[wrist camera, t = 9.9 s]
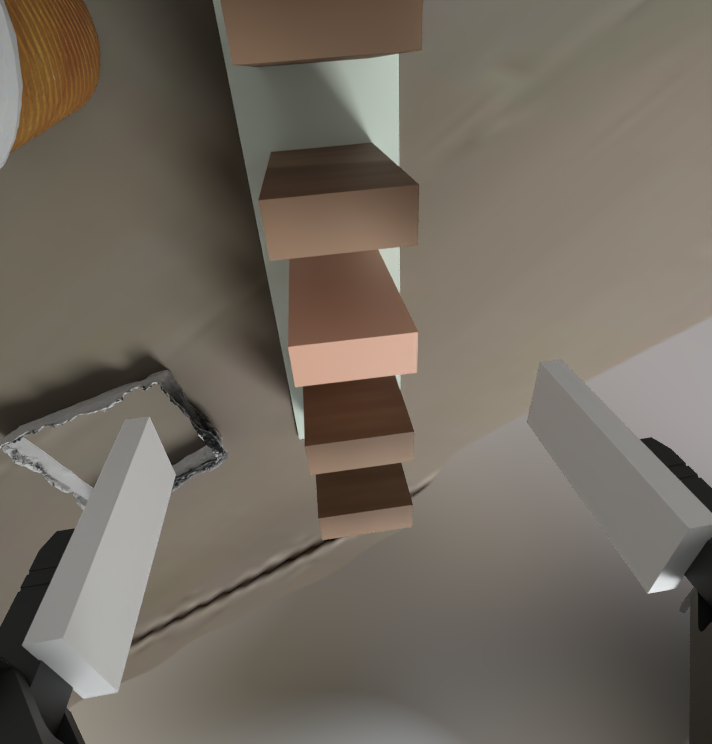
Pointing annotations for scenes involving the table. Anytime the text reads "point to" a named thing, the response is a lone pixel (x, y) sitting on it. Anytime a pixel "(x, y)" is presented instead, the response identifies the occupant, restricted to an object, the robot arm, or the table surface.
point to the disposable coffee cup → (43, 66)
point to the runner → (310, 139)
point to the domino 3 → (347, 320)
